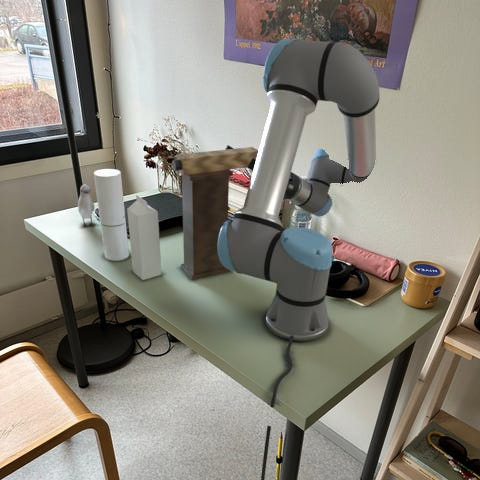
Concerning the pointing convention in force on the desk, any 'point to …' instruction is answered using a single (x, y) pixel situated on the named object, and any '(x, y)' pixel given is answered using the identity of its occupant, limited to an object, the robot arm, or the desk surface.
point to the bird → (85, 203)
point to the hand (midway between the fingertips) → (237, 156)
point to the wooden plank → (214, 160)
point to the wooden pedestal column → (204, 221)
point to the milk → (144, 239)
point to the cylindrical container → (112, 213)
